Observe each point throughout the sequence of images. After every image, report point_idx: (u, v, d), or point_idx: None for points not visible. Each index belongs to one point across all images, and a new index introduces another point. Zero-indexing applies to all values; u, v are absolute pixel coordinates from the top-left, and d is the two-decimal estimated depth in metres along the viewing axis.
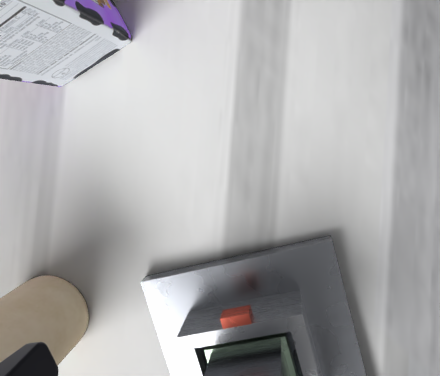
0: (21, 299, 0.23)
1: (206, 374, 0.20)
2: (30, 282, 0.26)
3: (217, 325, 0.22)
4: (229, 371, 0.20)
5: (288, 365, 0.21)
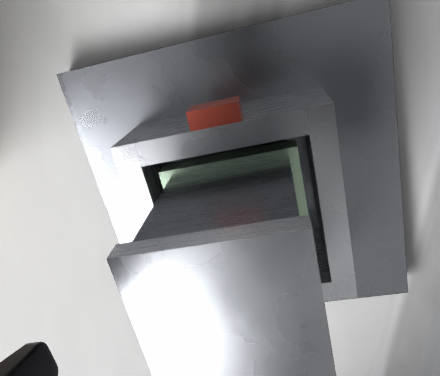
0: None
1: (160, 200, 0.11)
2: None
3: (180, 129, 0.13)
4: (199, 195, 0.11)
5: (297, 196, 0.13)
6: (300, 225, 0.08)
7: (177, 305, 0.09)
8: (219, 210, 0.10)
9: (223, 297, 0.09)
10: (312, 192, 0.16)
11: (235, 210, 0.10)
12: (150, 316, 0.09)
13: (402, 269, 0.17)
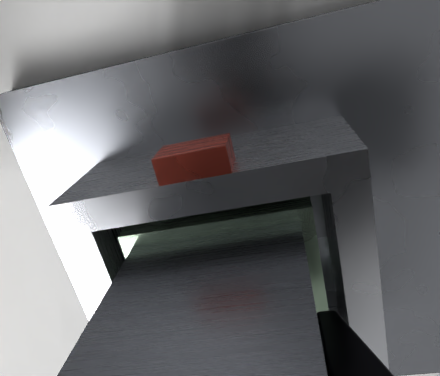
0: None
1: (111, 291, 0.08)
2: None
3: (147, 180, 0.09)
4: (169, 286, 0.08)
5: (311, 272, 0.09)
6: None
7: None
8: (194, 328, 0.06)
9: None
10: (327, 249, 0.12)
11: (218, 333, 0.06)
12: None
13: None
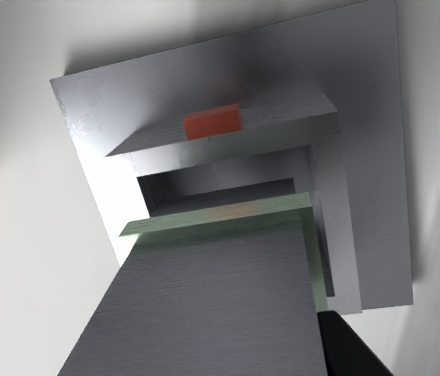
0: None
1: (112, 291, 0.08)
2: None
3: (177, 138, 0.12)
4: (169, 285, 0.08)
5: (311, 271, 0.09)
6: None
7: None
8: (194, 328, 0.06)
9: None
10: (314, 201, 0.15)
11: (218, 333, 0.06)
12: None
13: (407, 280, 0.16)
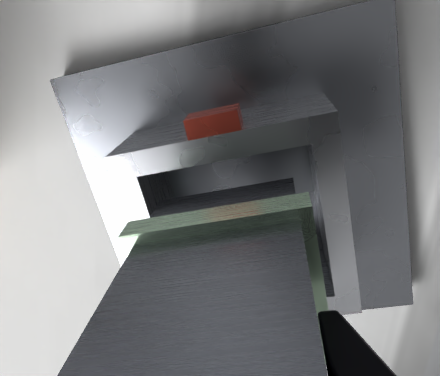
0: None
1: (112, 291, 0.08)
2: None
3: (178, 138, 0.12)
4: (169, 285, 0.08)
5: (311, 271, 0.09)
6: None
7: None
8: (194, 327, 0.06)
9: None
10: (314, 201, 0.15)
11: (218, 333, 0.06)
12: None
13: (407, 280, 0.16)
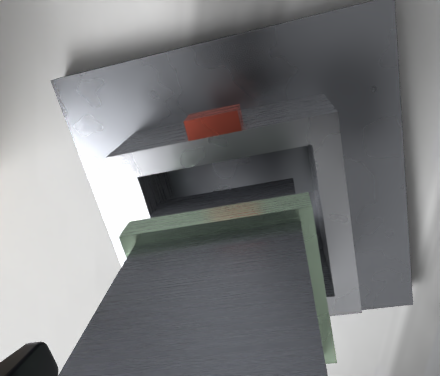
0: None
1: (112, 290, 0.08)
2: None
3: (178, 138, 0.12)
4: (169, 285, 0.08)
5: (311, 271, 0.09)
6: None
7: None
8: (195, 327, 0.06)
9: None
10: (314, 201, 0.15)
11: (218, 332, 0.06)
12: None
13: (407, 280, 0.16)
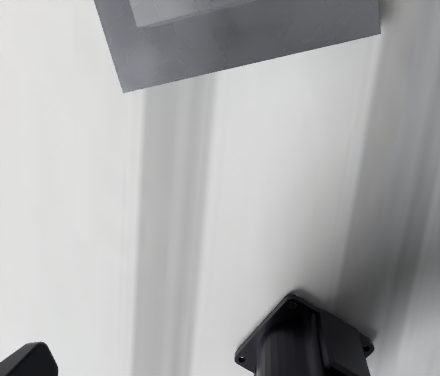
0: None
1: None
2: None
3: None
4: None
5: None
6: None
7: None
8: None
9: None
10: None
11: None
12: None
13: (374, 3, 0.16)
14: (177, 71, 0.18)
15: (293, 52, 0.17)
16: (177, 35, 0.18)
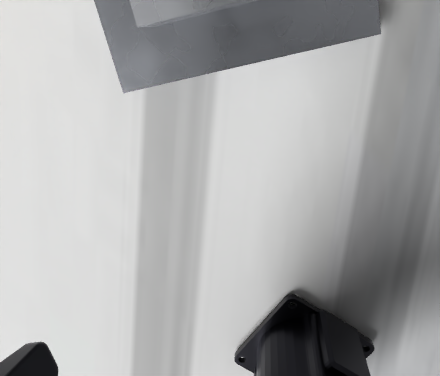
0: None
1: None
2: None
3: None
4: None
5: None
6: None
7: None
8: None
9: None
10: None
11: None
12: None
13: (374, 3, 0.16)
14: (177, 71, 0.18)
15: (293, 52, 0.18)
16: (177, 35, 0.18)
